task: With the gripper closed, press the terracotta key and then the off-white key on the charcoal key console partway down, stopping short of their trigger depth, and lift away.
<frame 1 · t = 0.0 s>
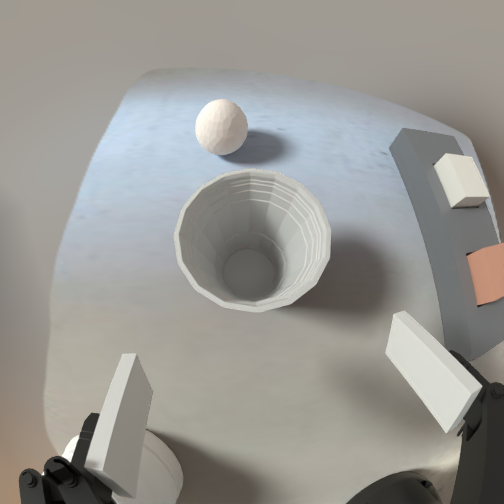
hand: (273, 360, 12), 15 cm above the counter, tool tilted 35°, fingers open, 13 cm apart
egg: (223, 147, 35), on the counter
plastic cup: (247, 272, 30), on the counter
offwhite key: (461, 182, 28), point 6 cm above the counter, slide at 0.0 cm
key console: (452, 241, 32), on the counter
terracotta key: (491, 273, 24), point 6 cm above the counter, slide at 0.0 cm
honey pot: (131, 466, 22), on the counter
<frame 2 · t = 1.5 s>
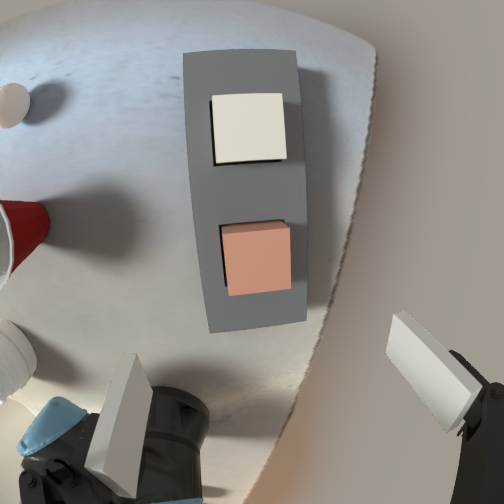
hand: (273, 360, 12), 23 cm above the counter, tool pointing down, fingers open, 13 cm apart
egg: (24, 108, 24), on the counter
plastic cup: (35, 220, 29), on the counter
offwhite key: (247, 129, 25), point 6 cm above the counter, slide at 0.0 cm
key console: (244, 189, 32), on the counter
terracotta key: (255, 256, 29), point 6 cm above the counter, slide at 0.0 cm
honey pot: (13, 346, 34), on the counter
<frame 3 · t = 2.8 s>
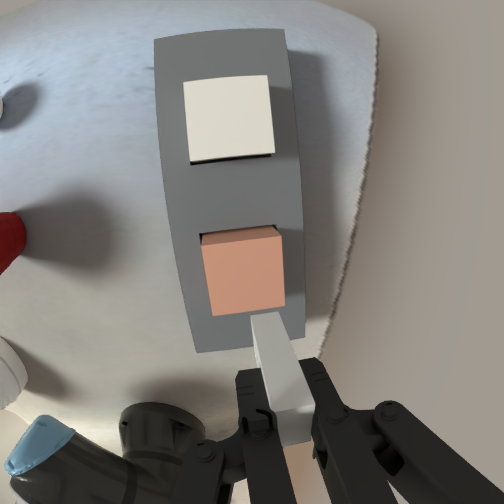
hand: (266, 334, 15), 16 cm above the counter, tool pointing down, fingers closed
plastic cup: (13, 231, 26), on the counter
offwhite key: (227, 119, 20), point 6 cm above the counter, slide at 0.0 cm
key console: (231, 189, 28), on the counter
terracotta key: (243, 269, 25), point 6 cm above the counter, slide at 0.0 cm
honey pot: (3, 359, 31), on the counter
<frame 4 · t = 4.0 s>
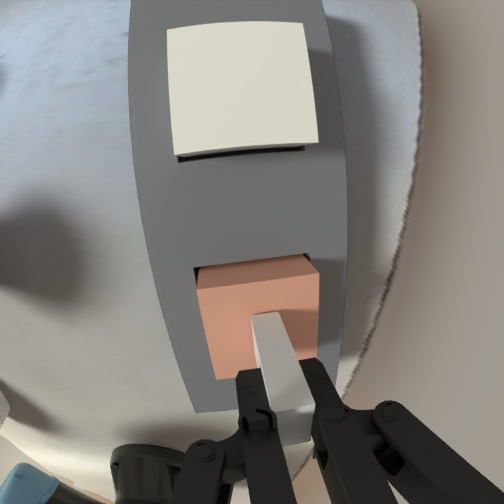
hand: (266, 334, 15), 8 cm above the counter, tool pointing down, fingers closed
offwhite key: (238, 89, 12), point 6 cm above the counter, slide at 0.0 cm
key console: (240, 198, 20), on the counter
terracotta key: (258, 314, 17), point 5 cm above the counter, slide at 0.6 cm, touching gripper
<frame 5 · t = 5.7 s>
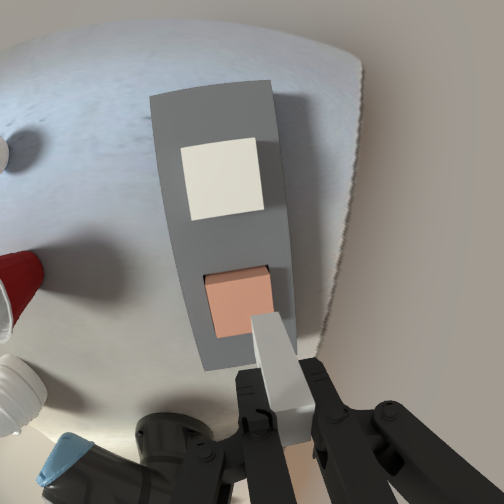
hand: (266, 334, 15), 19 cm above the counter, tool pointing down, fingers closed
egg: (4, 156, 24), on the counter
plastic cup: (30, 267, 30), on the counter
offwhite key: (222, 177, 25), point 6 cm above the counter, slide at 0.0 cm
key console: (228, 231, 32), on the counter
terracotta key: (240, 299, 30), point 5 cm above the counter, slide at 1.0 cm
honey pot: (23, 378, 35), on the counter
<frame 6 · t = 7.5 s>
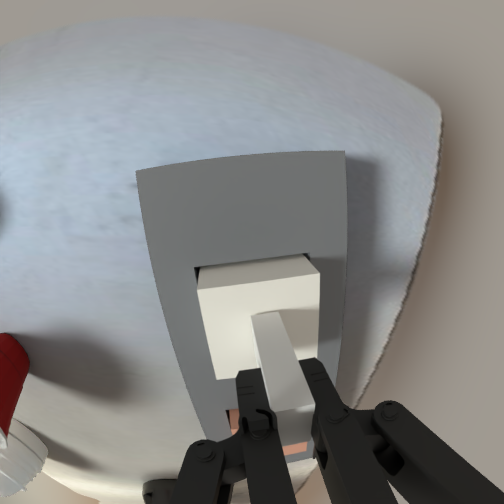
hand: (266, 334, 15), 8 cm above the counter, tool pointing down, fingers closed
plastic cup: (13, 349, 22), on the counter
offwhite key: (259, 314, 17), point 5 cm above the counter, slide at 0.5 cm, touching gripper
key console: (255, 343, 24), on the counter
terracotta key: (268, 426, 21), point 5 cm above the counter, slide at 1.0 cm
honey pot: (21, 433, 27), on the counter
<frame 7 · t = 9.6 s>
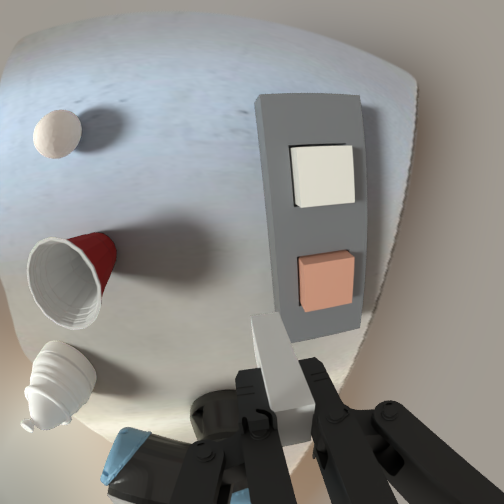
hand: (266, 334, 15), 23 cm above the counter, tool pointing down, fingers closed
egg: (72, 134, 29), on the counter
plastic cup: (99, 249, 35), on the counter
offwhite key: (321, 174, 29), point 5 cm above the counter, slide at 1.0 cm
key console: (310, 219, 36), on the counter
terracotta key: (324, 278, 34), point 5 cm above the counter, slide at 1.0 cm
honey pot: (69, 365, 41), on the counter
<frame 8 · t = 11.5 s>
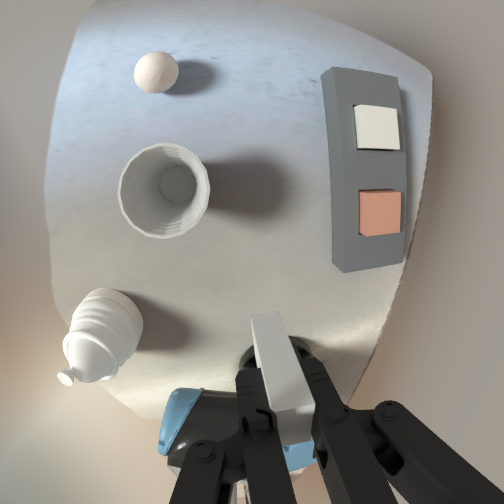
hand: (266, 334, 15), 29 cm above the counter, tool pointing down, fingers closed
egg: (161, 79, 34), on the counter
plastic cup: (177, 183, 40), on the counter
offwhite key: (374, 128, 35), point 5 cm above the counter, slide at 1.0 cm
key console: (361, 168, 42), on the counter
terracotta key: (377, 211, 39), point 5 cm above the counter, slide at 1.0 cm
coffee box: (255, 476, 71), on the counter
honey pot: (112, 318, 45), on the counter
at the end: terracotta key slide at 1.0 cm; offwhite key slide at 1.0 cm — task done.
